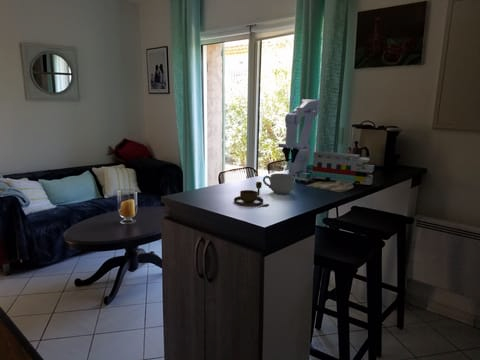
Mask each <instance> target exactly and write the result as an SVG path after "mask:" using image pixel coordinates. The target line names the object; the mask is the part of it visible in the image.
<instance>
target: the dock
mask: <svg viewBox="0 0 480 360" xmlns="http://www.w3.org/2000/svg"><path fill="white" fill-rule="evenodd" d="M353 184H354V183H350V182H342V181H331V182H325V181H315V182H313V183H310V184H305V186H306V187H309V188H315V189H320V190H321V189H322V190H326V191H332V192H335V193H344V192H346V191H349V190H352V189H353V188H354V186H355V184H354V185H353Z"/></svg>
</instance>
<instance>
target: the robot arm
mask: <svg viewBox="0 0 480 360" xmlns="http://www.w3.org/2000/svg"><path fill="white" fill-rule="evenodd" d="M320 108H321V102H320V100H319V99H304V98H302V99H301V101H300V104H299V106H296V107H295V109H293V110H292V111H291V112H290V113H287V114H286V115H285V116H284V117H285V118H284V122H285V123H284V124H285V129H286V130H285V131H286V132H285V143H278V144H277V147H278V148H281V151H282V152H283V156H284V160H285V163H287V162H289V165H288V173H287V174H289V175H292V176H295V172H298V171H303V172H306V173H307V164H308V160H310V158H311V157H312V156H311V155H312V153H311V152H312V147H311V146H310V145H309V140H310V136H311V132H312V130H313V129H312V128H313V125H314V121H315V118H316V117H317V116H318V114H319V112H320ZM303 117H305V120H304V122H303V126H302V130H301V134H300V137H299V141H297V140H298V128H299V127H298V125H299V124H300V122H301V119H302V118H303ZM303 172H302V173H303Z"/></svg>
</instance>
